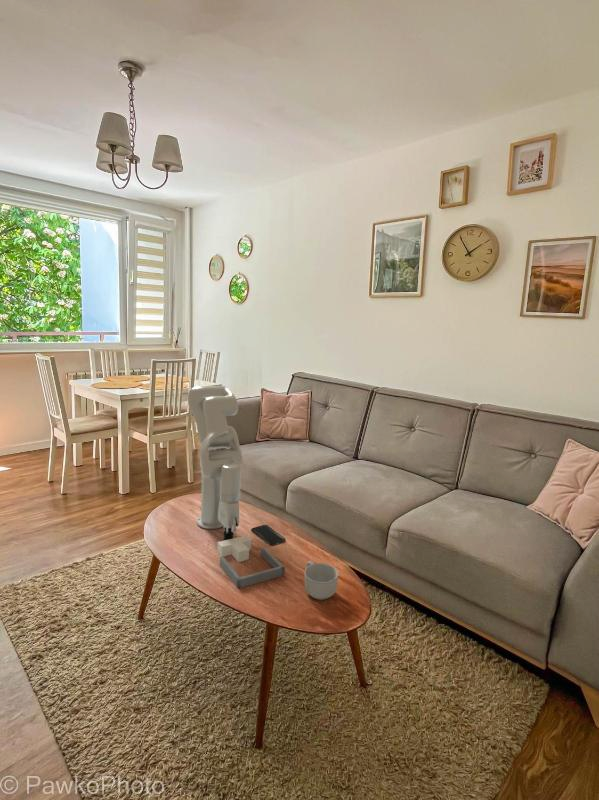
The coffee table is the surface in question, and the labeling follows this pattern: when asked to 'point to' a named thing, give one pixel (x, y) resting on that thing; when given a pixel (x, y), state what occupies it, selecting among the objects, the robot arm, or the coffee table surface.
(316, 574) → the teacup
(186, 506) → the coffee table surface
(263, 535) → the phone
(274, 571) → the bay
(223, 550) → the t block
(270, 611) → the coffee table surface
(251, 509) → the coffee table surface
